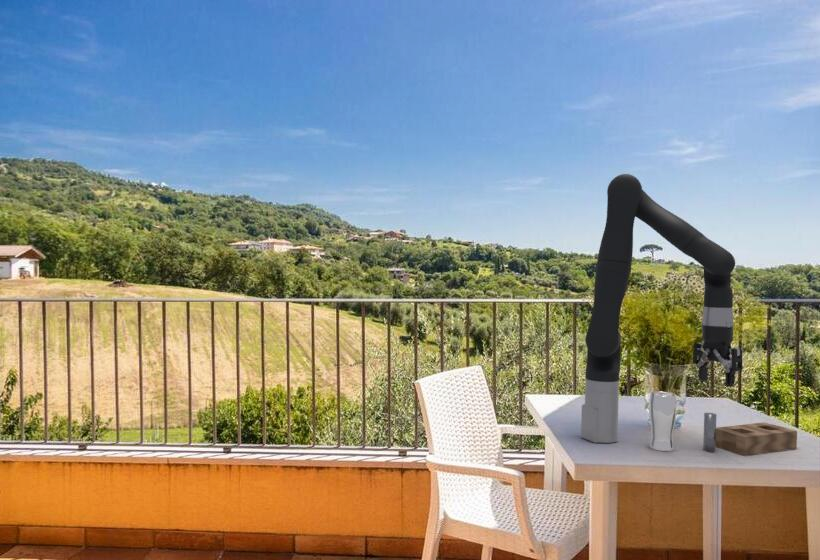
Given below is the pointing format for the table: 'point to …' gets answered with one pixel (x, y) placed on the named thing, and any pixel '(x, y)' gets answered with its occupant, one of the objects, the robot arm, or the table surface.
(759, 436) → the hole block
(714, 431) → the peg
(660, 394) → the beer glass
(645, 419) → the table surface
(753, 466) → the table surface
